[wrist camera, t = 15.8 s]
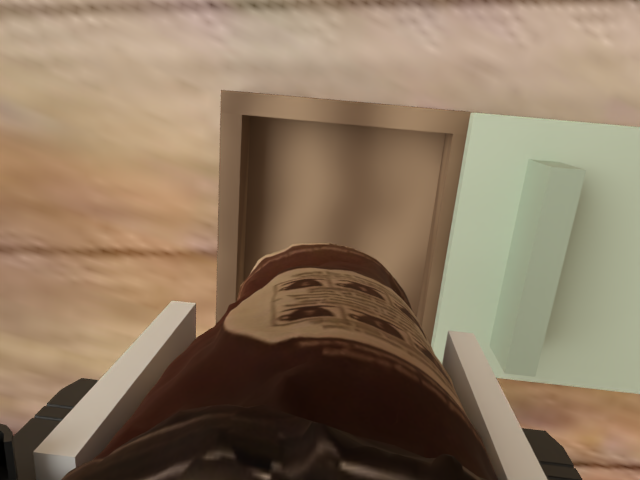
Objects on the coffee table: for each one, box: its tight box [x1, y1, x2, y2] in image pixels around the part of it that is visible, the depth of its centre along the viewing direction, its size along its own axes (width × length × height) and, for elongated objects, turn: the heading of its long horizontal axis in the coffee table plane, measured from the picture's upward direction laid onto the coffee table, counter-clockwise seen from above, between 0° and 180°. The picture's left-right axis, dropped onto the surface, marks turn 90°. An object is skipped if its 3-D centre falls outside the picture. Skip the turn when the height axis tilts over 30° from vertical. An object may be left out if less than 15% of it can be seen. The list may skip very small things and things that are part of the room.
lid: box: [431, 112, 640, 394], centre depth 25 cm, size 14×15×4 cm
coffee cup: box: [61, 243, 498, 480], centre depth 11 cm, size 9×8×13 cm
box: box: [216, 90, 475, 344], centre depth 29 cm, size 14×15×3 cm
